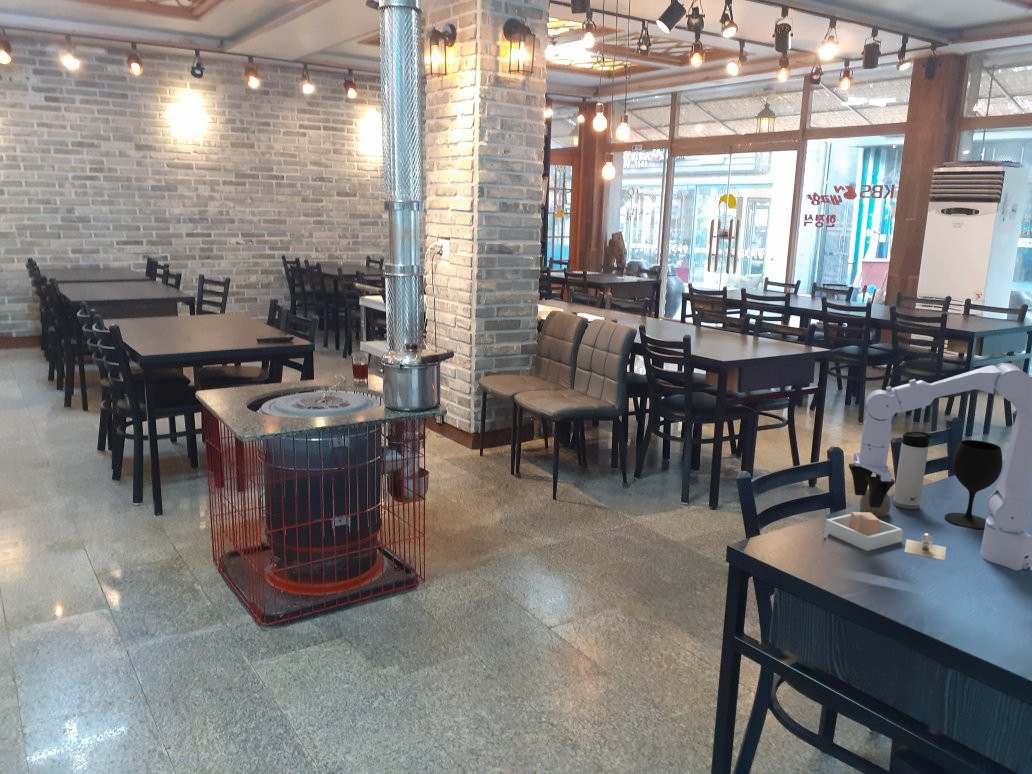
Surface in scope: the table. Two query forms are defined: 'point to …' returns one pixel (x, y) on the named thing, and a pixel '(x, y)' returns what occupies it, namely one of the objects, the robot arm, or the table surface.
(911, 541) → the base
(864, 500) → the vase
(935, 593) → the table surface
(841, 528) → the bin
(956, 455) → the wine glass
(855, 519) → the block
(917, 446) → the travel mug
